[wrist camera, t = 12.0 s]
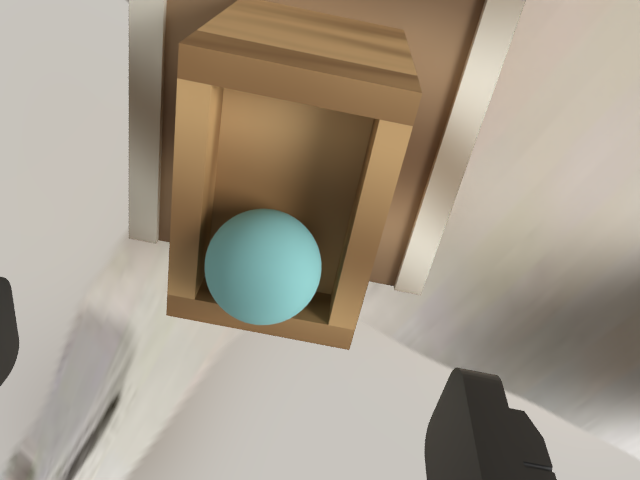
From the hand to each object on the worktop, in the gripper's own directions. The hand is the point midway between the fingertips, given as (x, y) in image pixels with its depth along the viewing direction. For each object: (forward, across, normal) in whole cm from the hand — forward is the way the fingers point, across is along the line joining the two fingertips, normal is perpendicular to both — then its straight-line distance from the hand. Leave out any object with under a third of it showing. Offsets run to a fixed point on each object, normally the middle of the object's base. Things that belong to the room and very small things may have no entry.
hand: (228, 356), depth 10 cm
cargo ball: (+6, 0, 0) cm, 6 cm away
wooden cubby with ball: (+13, 0, 0) cm, 13 cm away
